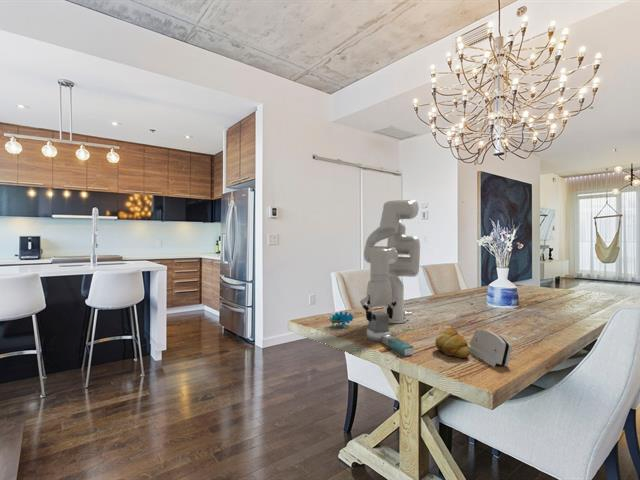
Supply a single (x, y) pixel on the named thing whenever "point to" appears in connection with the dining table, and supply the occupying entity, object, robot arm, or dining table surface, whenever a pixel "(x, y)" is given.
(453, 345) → the bread roll
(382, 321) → the socket
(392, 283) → the robot arm
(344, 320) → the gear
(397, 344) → the ratchet
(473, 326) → the dining table surface
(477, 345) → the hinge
